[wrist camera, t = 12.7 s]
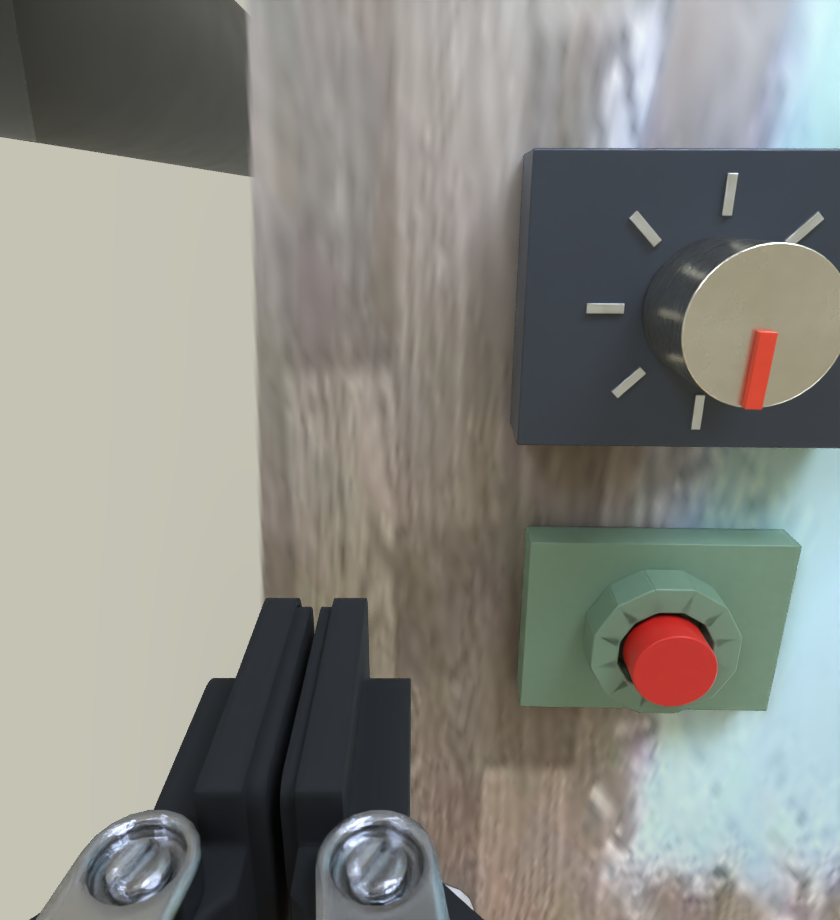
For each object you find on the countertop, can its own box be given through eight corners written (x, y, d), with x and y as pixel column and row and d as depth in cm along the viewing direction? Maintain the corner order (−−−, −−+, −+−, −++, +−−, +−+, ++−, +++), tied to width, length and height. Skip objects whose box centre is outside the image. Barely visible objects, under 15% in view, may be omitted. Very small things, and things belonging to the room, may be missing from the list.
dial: (653, 233, 25) (700, 239, 21) (797, 238, 25) (876, 245, 20) (633, 374, 27) (672, 408, 22) (767, 379, 27) (834, 414, 22)
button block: (516, 684, 36) (524, 732, 32) (525, 525, 32) (535, 561, 29) (751, 688, 35) (784, 737, 32) (784, 529, 32) (823, 565, 29)
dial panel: (509, 423, 31) (517, 446, 28) (523, 154, 27) (533, 147, 24) (828, 427, 30) (870, 450, 28) (886, 154, 27) (942, 148, 24)
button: (618, 680, 32) (628, 706, 30) (626, 612, 30) (637, 636, 29) (697, 682, 32) (712, 708, 30) (709, 614, 30) (724, 637, 29)
